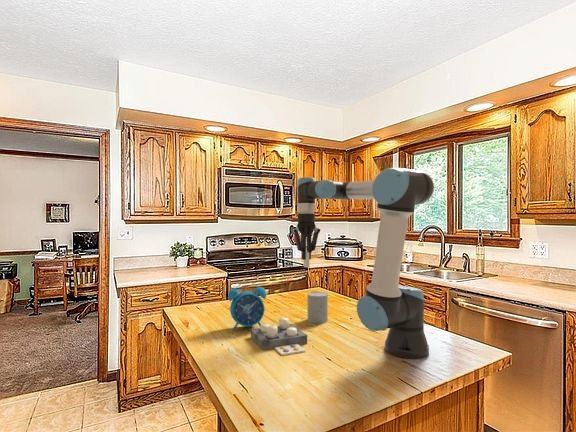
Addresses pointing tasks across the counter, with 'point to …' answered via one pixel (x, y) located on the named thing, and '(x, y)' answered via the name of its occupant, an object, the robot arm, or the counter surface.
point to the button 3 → (284, 323)
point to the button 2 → (272, 331)
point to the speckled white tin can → (317, 307)
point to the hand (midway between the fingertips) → (306, 266)
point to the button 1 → (264, 328)
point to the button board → (278, 338)
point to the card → (289, 349)
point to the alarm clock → (247, 306)
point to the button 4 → (291, 331)
